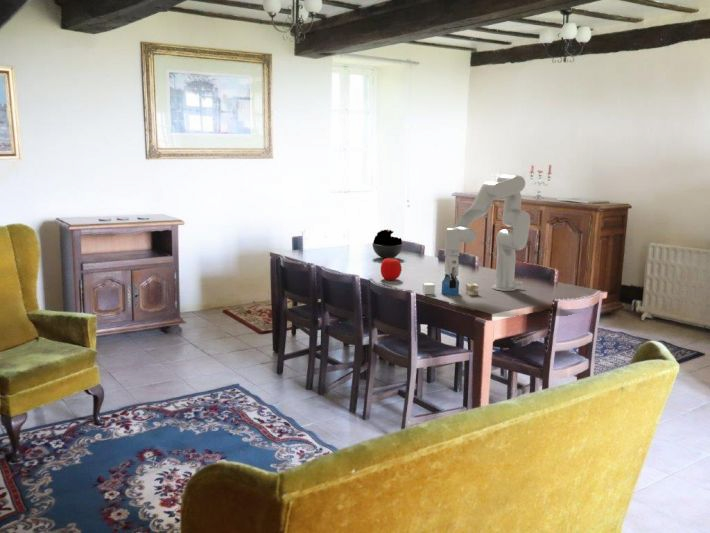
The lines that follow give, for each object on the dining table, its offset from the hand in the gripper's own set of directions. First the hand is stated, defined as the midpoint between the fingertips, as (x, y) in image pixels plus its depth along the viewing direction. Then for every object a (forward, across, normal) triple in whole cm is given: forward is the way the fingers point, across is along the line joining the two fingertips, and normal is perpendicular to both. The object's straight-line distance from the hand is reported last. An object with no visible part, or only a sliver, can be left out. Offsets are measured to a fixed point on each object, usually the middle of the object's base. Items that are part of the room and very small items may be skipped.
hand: (450, 286), depth 323 cm
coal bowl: (+4, +99, +16) cm, 100 cm away
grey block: (+4, +1, +11) cm, 11 cm away
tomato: (+4, +34, +25) cm, 42 cm away
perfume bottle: (+4, 0, 0) cm, 4 cm away
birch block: (+4, -1, -11) cm, 12 cm away
